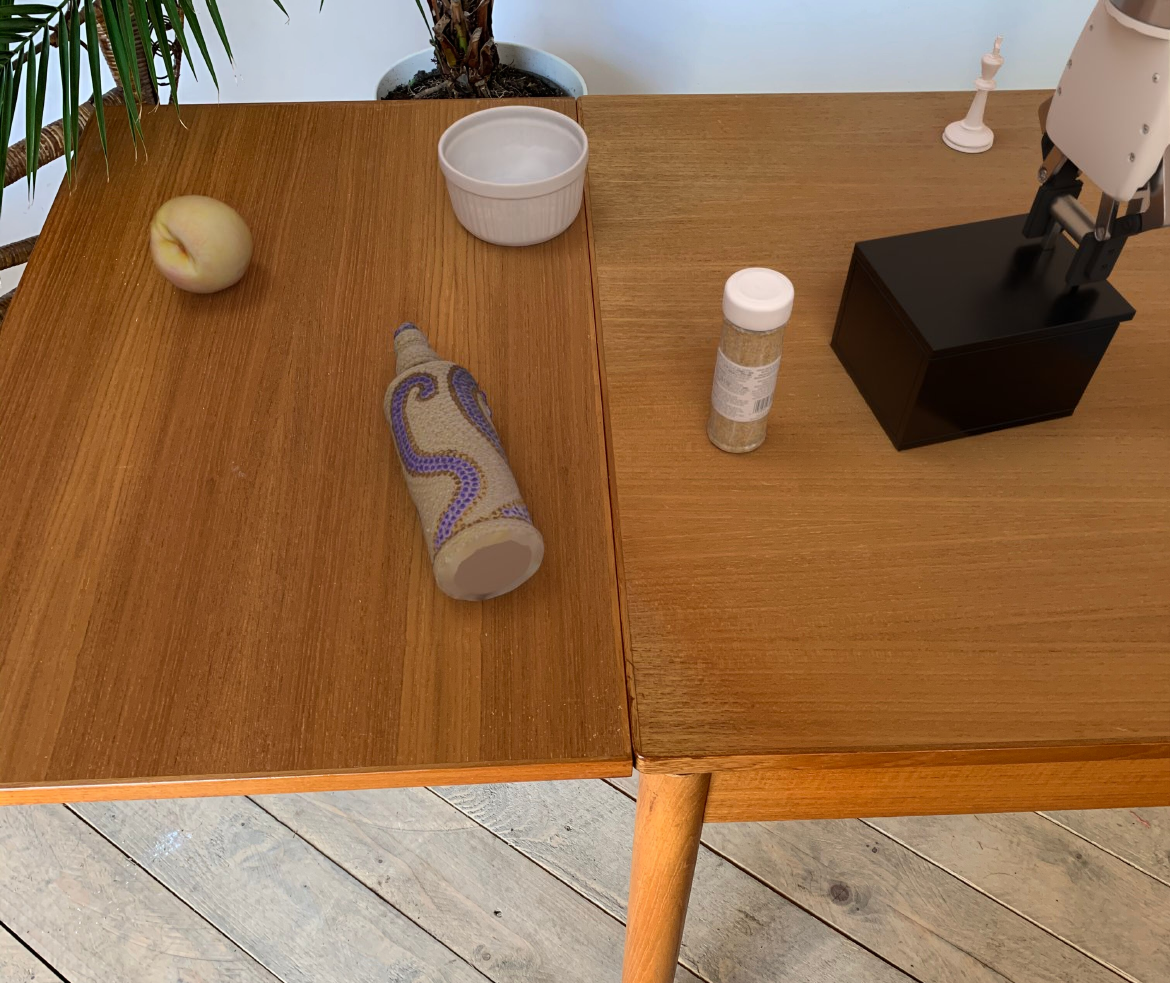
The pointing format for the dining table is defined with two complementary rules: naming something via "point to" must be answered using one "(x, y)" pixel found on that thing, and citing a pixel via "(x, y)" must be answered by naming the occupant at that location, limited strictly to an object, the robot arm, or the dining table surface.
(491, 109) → the ramekin
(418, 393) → the decorative bottle
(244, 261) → the fruit
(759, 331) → the spice jar
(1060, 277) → the bin lid
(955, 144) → the chess piece
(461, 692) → the dining table surface
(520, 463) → the dining table surface
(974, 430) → the bin
